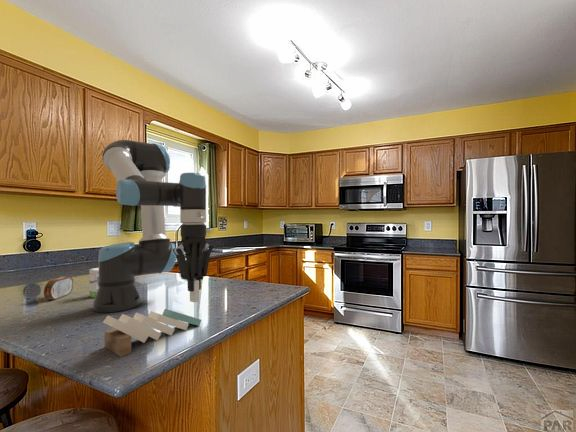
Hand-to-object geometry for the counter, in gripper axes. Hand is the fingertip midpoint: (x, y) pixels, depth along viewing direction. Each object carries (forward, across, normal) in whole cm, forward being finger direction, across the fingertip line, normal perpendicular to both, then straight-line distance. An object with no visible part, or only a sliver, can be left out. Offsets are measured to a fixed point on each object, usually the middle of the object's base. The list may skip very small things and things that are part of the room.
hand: (194, 301), depth 91 cm
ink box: (+7, -2, +64) cm, 64 cm away
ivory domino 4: (+6, -4, 0) cm, 7 cm away
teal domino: (+6, 0, 0) cm, 6 cm away
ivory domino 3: (+6, -9, 0) cm, 11 cm away
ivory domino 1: (+6, -16, 0) cm, 17 cm away
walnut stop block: (+7, -22, 0) cm, 23 cm away
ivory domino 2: (+6, -13, 0) cm, 14 cm away
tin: (+7, -14, +76) cm, 78 cm away
